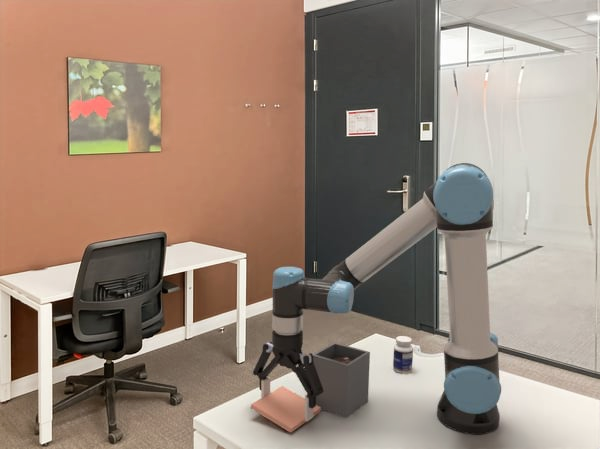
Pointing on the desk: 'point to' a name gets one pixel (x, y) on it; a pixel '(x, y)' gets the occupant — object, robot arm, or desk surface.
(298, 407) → the lid
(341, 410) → the bin
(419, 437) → the desk surface
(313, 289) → the robot arm
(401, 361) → the pill bottle
